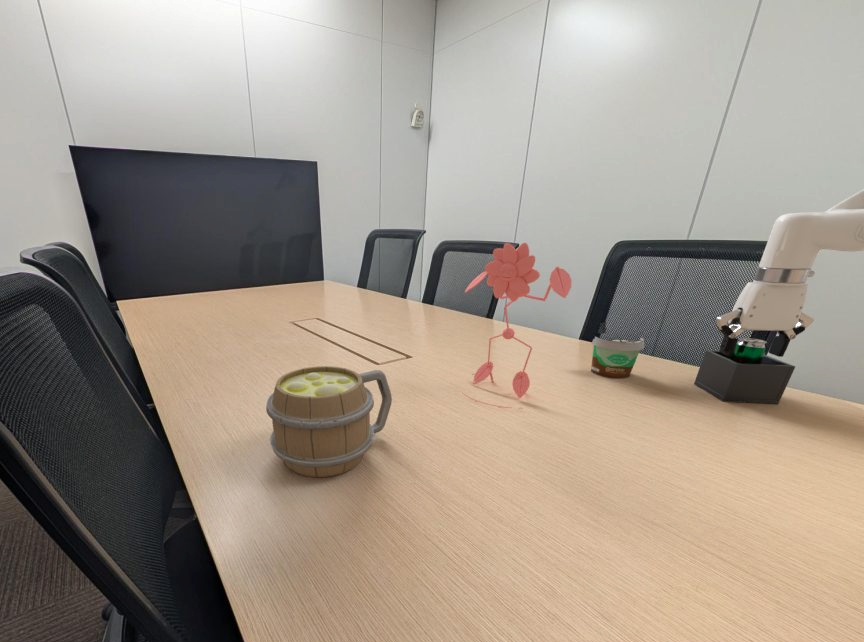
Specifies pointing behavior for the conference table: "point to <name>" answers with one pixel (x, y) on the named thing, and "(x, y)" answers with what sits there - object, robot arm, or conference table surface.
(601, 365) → the food container
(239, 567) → the conference table surface
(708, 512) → the conference table surface
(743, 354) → the soda can
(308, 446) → the mug
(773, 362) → the trash bin
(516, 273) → the figurine
